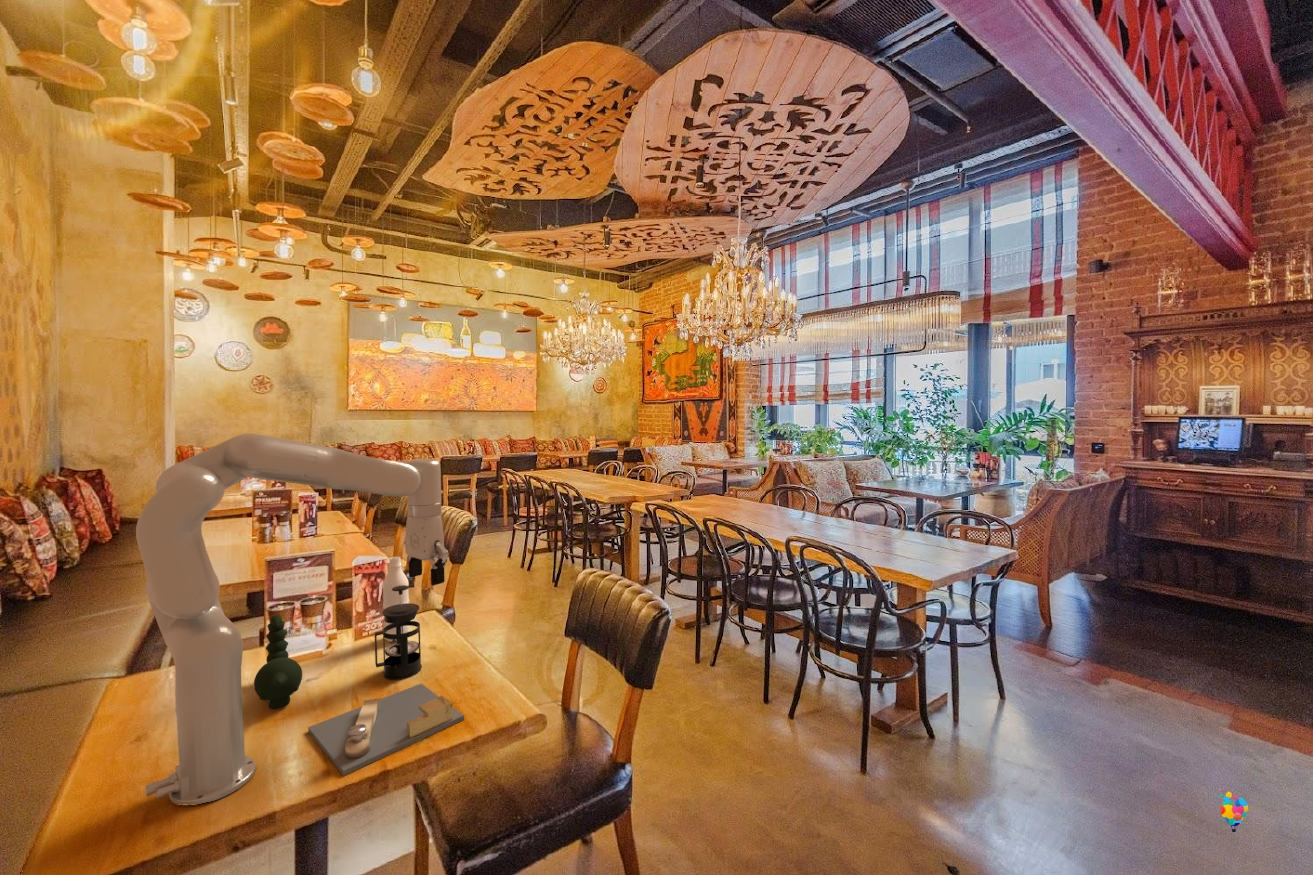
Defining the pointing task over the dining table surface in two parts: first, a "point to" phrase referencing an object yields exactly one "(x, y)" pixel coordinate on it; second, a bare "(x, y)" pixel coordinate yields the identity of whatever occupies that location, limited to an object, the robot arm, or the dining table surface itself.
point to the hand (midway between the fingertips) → (426, 579)
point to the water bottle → (393, 597)
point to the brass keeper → (430, 716)
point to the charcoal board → (378, 728)
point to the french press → (400, 640)
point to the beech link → (368, 719)
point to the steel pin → (357, 732)
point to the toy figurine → (277, 669)
